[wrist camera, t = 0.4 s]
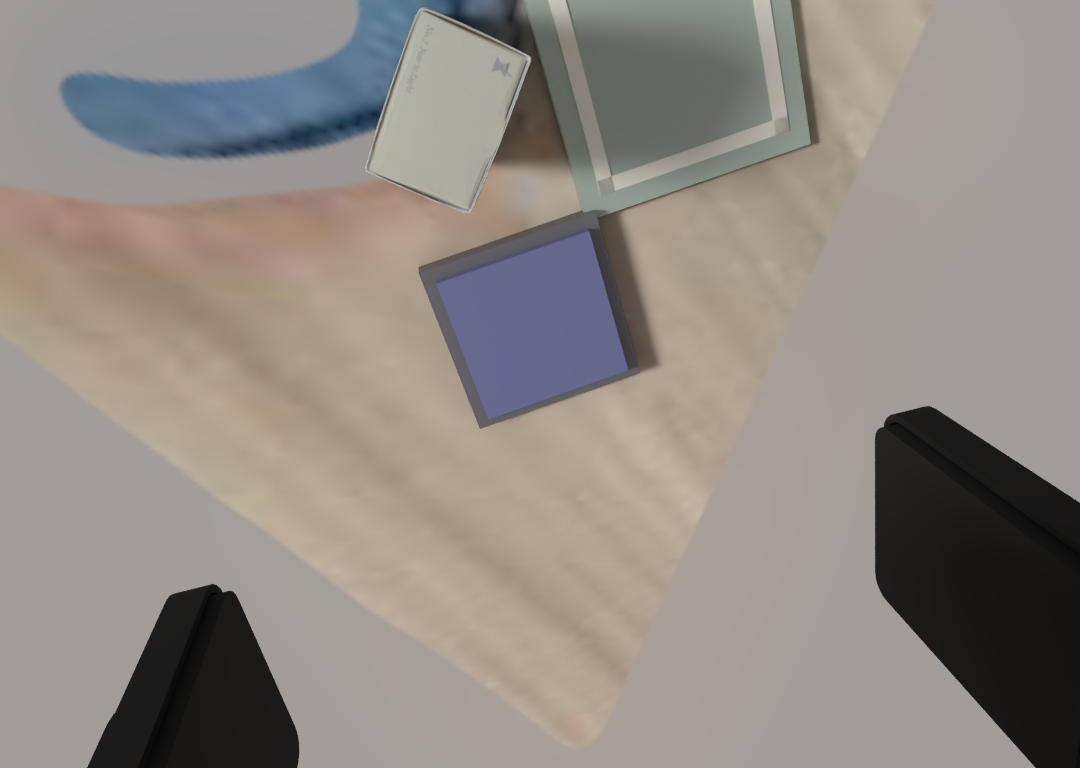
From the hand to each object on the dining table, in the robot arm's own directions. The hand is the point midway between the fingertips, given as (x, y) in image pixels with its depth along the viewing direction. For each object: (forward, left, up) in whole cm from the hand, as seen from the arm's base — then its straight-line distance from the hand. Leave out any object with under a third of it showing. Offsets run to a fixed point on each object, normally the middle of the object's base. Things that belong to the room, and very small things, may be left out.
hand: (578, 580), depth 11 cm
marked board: (-3, +13, -32) cm, 35 cm away
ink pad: (+8, +2, -32) cm, 33 cm away
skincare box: (-5, +1, -33) cm, 33 cm away
